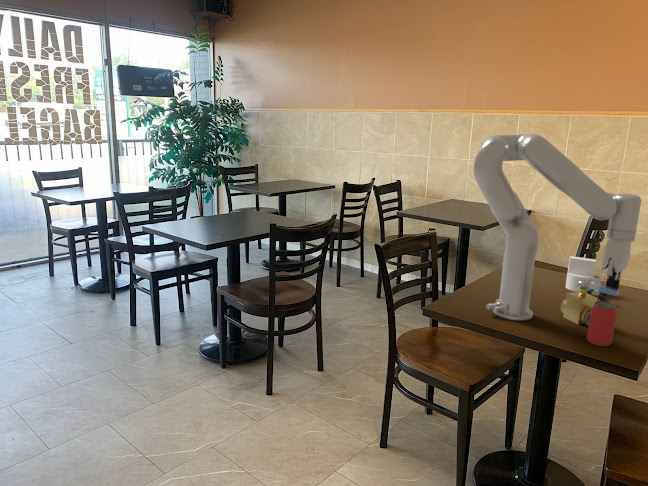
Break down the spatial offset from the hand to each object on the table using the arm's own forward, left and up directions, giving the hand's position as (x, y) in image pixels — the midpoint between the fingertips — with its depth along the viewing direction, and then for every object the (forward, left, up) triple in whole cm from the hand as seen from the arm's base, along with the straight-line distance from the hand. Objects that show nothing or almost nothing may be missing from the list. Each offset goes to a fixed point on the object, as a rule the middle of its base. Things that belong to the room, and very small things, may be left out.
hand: (611, 290), depth 160 cm
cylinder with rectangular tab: (+18, +31, -12) cm, 38 cm away
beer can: (-13, -10, -12) cm, 20 cm away
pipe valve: (-6, +6, -11) cm, 14 cm away
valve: (+17, +22, -12) cm, 30 cm away
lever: (-4, +2, 0) cm, 4 cm away
